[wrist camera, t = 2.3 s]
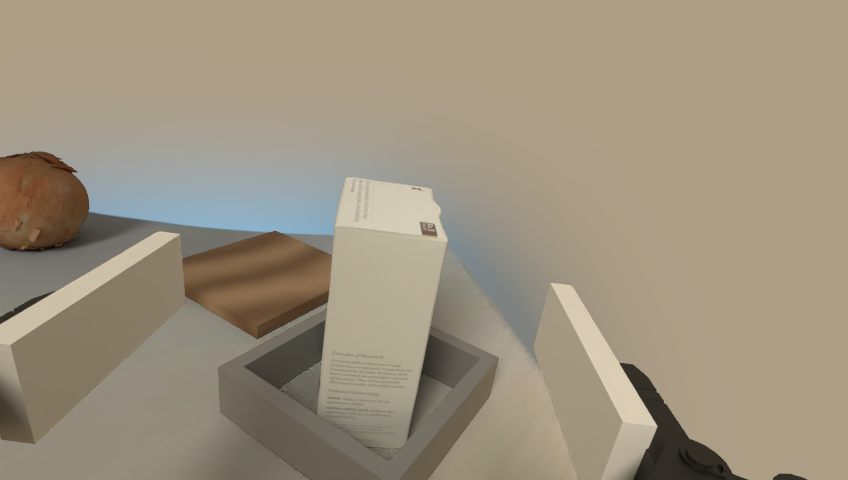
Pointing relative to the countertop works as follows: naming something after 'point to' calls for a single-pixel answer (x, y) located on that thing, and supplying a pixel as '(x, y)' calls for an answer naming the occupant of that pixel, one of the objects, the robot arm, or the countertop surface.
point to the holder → (324, 443)
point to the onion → (39, 202)
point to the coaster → (259, 281)
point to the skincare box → (379, 308)
